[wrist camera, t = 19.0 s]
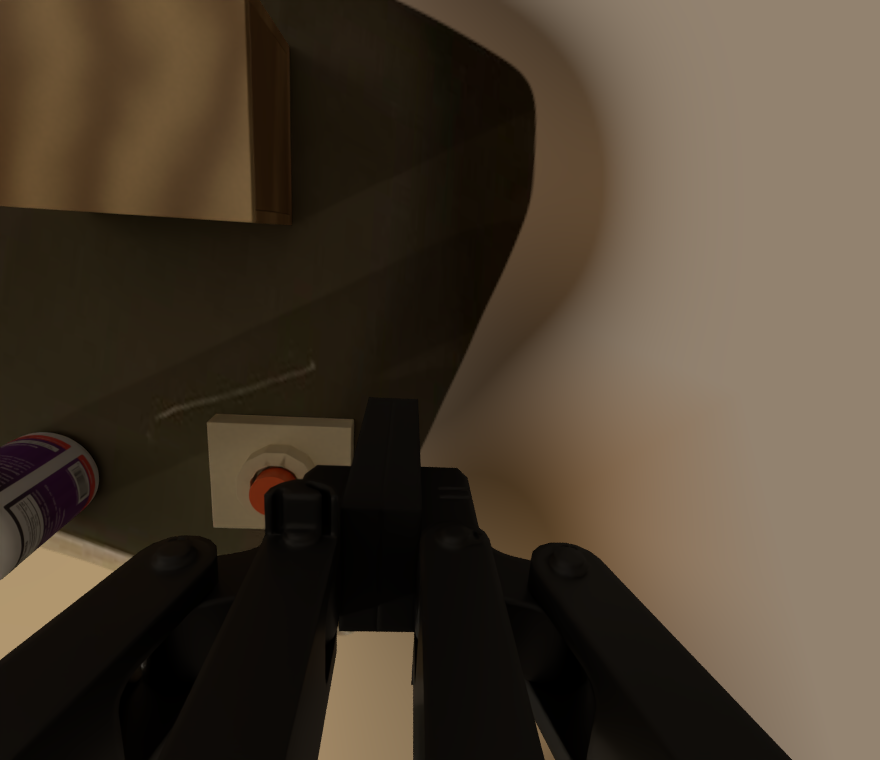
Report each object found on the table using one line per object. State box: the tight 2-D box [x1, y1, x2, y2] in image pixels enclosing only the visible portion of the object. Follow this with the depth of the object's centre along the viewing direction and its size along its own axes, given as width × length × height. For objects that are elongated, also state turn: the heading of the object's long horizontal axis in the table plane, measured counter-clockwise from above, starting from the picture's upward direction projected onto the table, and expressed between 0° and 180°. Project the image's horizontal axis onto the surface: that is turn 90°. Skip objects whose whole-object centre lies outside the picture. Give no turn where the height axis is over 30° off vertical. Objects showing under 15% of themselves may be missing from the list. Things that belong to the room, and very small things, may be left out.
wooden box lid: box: [0, 0, 256, 223], centre depth 28 cm, size 16×13×1 cm
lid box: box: [81, 0, 292, 225], centre depth 34 cm, size 16×13×10 cm
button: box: [249, 467, 296, 515], centre depth 42 cm, size 4×4×2 cm
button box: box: [207, 414, 354, 529], centre depth 45 cm, size 12×10×4 cm
